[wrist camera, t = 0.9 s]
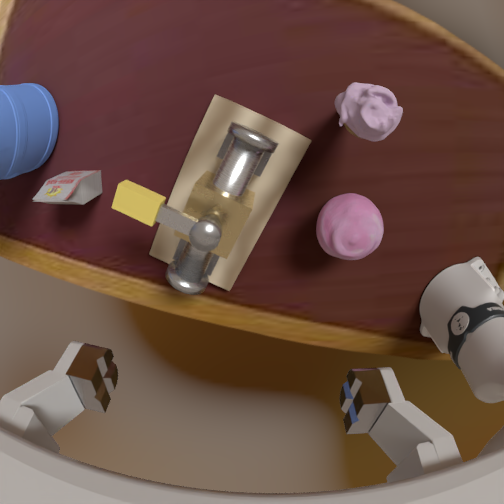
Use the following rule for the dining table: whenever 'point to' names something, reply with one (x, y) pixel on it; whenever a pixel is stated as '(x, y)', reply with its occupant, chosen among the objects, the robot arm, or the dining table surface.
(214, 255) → the valve assembly
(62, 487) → the robot arm
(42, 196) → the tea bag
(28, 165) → the water jug
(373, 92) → the ice cream cone
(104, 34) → the dining table surface
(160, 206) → the lever
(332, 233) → the cupcake
